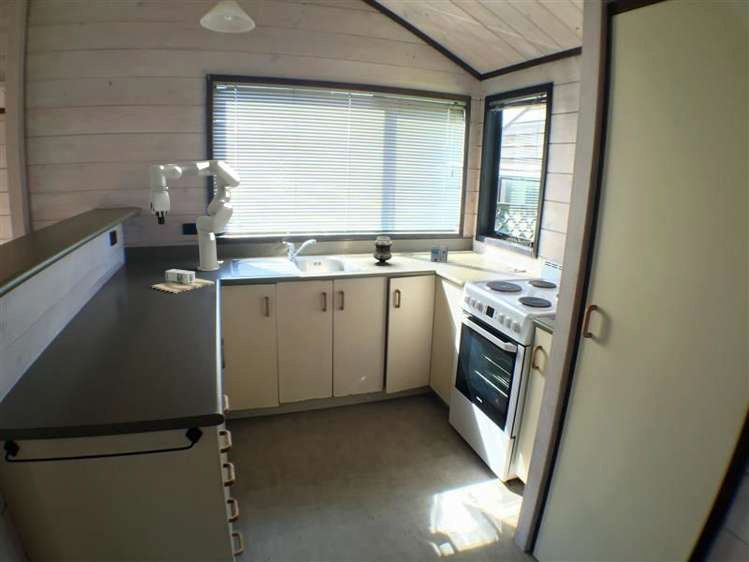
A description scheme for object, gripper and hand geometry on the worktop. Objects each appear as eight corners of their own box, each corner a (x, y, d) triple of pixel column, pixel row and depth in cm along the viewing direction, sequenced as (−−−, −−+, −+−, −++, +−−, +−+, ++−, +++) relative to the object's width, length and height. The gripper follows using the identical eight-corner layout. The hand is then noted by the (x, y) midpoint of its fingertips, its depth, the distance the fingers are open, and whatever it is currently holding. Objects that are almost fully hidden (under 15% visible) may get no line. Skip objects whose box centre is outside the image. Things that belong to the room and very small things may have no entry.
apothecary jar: (391, 266, 305) (392, 238, 301) (372, 266, 305) (373, 238, 301) (391, 262, 316) (392, 236, 312) (373, 262, 317) (374, 235, 312)
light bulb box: (430, 261, 324) (431, 246, 322) (432, 259, 331) (432, 244, 328) (445, 262, 321) (446, 247, 319) (447, 261, 328) (448, 245, 325)
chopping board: (191, 279, 258) (191, 277, 258) (214, 283, 249) (214, 281, 249) (151, 288, 238) (151, 285, 237) (175, 293, 229) (175, 291, 229)
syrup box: (164, 270, 245) (187, 273, 240) (173, 268, 250) (195, 271, 245) (165, 281, 246) (187, 284, 241) (174, 279, 252) (196, 282, 247)
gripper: (166, 188, 258) (169, 222, 262) (141, 189, 245) (144, 224, 249) (175, 189, 254) (178, 223, 258) (150, 190, 241) (153, 226, 246)
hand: (161, 224), depth 254 cm, fingers closed
